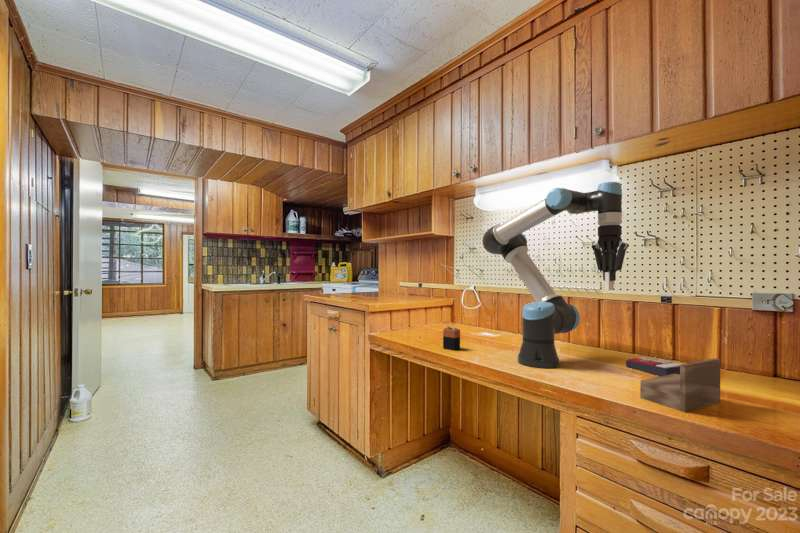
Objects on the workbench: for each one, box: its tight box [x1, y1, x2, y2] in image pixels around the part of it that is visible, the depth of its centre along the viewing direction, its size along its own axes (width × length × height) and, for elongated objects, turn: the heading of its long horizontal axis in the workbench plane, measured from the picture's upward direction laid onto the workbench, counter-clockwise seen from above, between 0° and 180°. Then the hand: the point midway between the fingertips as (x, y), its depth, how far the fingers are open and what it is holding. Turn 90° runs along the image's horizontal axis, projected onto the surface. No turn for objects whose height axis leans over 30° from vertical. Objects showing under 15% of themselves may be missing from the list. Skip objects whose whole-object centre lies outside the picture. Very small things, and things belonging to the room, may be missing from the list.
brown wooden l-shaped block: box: [639, 357, 721, 413], centre depth 100 cm, size 11×17×12 cm, turn 115°
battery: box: [442, 325, 461, 351], centre depth 162 cm, size 4×7×10 cm, turn 48°
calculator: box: [625, 356, 681, 377], centre depth 129 cm, size 11×4×15 cm
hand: (609, 289), depth 129 cm, fingers closed
